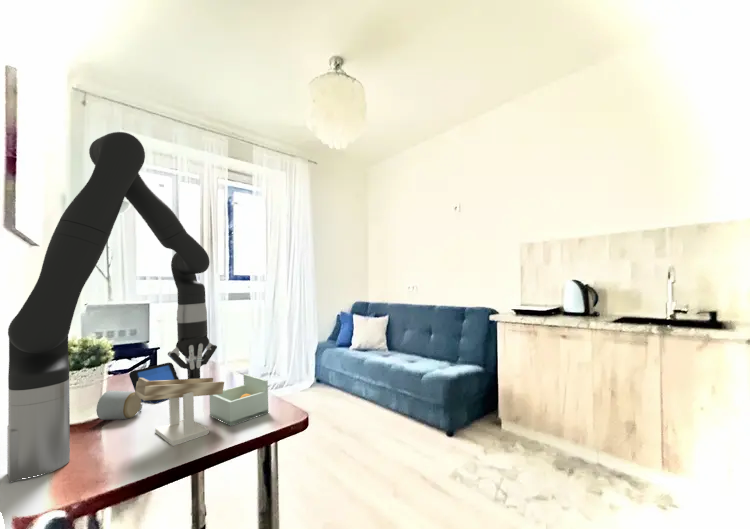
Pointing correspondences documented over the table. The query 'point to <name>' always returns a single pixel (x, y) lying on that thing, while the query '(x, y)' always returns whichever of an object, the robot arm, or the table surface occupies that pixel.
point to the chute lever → (176, 388)
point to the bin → (241, 401)
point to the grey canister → (118, 405)
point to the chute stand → (181, 422)
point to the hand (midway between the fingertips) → (194, 381)
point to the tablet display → (154, 375)
